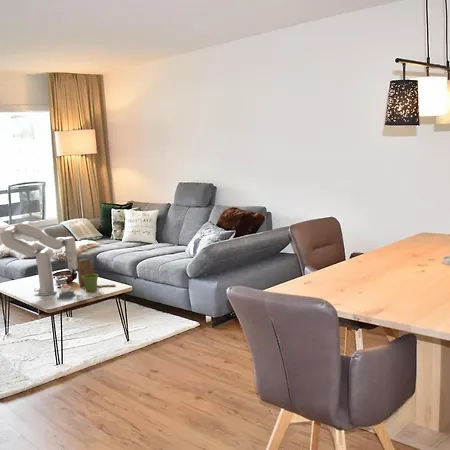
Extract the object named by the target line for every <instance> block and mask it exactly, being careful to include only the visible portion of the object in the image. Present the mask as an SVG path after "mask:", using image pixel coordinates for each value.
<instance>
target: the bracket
mask: <svg viewBox="0 0 450 450" xmlns="http://www.w3.org/2000/svg"><path fill="white" fill-rule="evenodd" d="M109 287H113V288H115V287H116V284H102V285H101V284H100V285H98V284H97V288H109Z"/></svg>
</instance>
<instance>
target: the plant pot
mask: <svg viewBox="0 0 450 450" xmlns="http://www.w3.org/2000/svg"><path fill="white" fill-rule="evenodd" d="M82 278H83V281H84V284H85V286H84V288H85V290H86V292H87V293H89V292H90V293H93V292H96V291H97V289H98V287H97V285H98V278H99V274H97V273H94V274H88V275H84V276H82Z"/></svg>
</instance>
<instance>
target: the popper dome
mask: <svg viewBox="0 0 450 450" xmlns="http://www.w3.org/2000/svg"><path fill="white" fill-rule="evenodd" d="M71 288H72V287H71V286H70V285H69V284H67V283H66V284H63V285H62V287H60V290H61V292H62V293H69V292H70V291H71V290H72V289H71Z"/></svg>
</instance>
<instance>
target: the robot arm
mask: <svg viewBox="0 0 450 450" xmlns="http://www.w3.org/2000/svg"><path fill="white" fill-rule="evenodd" d="M23 235H24V236H25V237H29V238H30V239H33V240H35V241H38V243H37V242H31V241H30V242H29V243H28V242H25V241H24V240H21V239H19V238H18V239H17V237H20V236H23ZM0 240H1V242H2V244H3V246H5V247H6V248H8V249H10V250H12V251H14V252H17V253H19V254H21V255H22V256H24V257H27V258H33V257H35V261H36V265H37V274H38V283H39V288H37V287H36V288H34V289H33V290H34V292H37V295H38V296H40V297H41V296H43V297H44V296H52V295H55V294H57V290H56V289H55V287H54V284H55V283H54V276H53V268H52V262H51V261H52V259H53V258H54V251H53V250H55V251H59V250H60V249H62V248H64V251H65V257H66V258H67V268H68V271H70V275H71V280H76V279H77V278H78V275H77V270H78V258H77V257H78V256H77V255H78V254H77V245H76V239H75V237H74V236H66V237H65V236H64V237H63V236H59V237H56V238H55V237H52V236H50V235H48V234H47V233H46V231H45V230H44V229H42V228H40V227H37V226H35V225H34V223H32V222H31V221H28V220H25V221H23V222H20V223H17V224H14V225H12V226H8V227H7V228H5V229H3V230H2V232H1V233H0ZM52 249H53V250H52Z"/></svg>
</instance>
